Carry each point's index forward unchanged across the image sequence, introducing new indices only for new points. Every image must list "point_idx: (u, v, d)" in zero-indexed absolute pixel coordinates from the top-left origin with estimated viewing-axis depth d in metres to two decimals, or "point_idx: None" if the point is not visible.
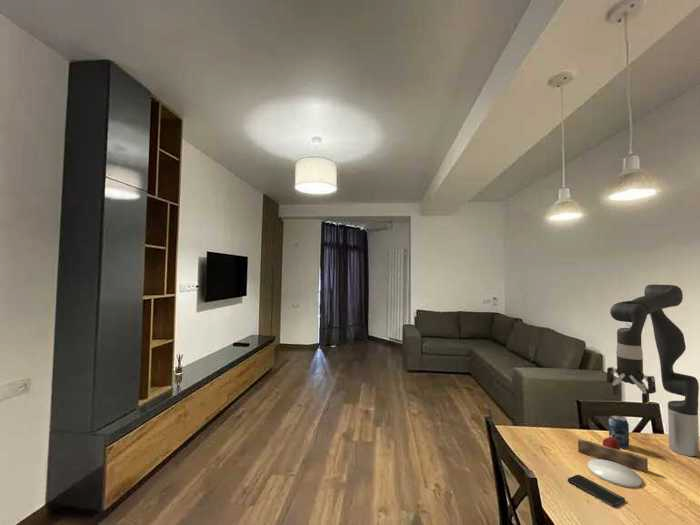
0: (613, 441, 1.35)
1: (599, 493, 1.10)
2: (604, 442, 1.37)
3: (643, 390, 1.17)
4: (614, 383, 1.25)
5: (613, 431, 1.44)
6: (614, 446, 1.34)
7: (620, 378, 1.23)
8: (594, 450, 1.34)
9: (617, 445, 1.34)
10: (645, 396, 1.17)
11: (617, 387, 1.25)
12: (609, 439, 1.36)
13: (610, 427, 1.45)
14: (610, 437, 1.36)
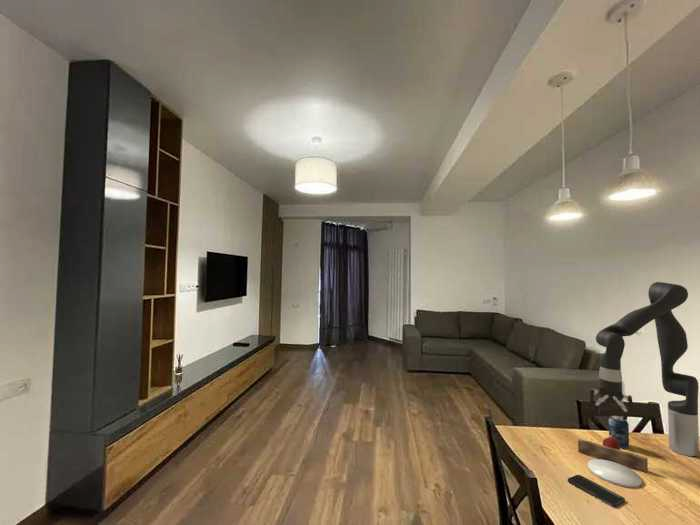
0: (613, 441, 1.35)
1: (598, 493, 1.10)
2: (604, 442, 1.37)
3: None
4: None
5: (612, 431, 1.44)
6: (614, 446, 1.34)
7: None
8: (594, 450, 1.34)
9: (617, 445, 1.34)
10: None
11: None
12: (609, 439, 1.36)
13: (610, 427, 1.45)
14: (610, 437, 1.36)
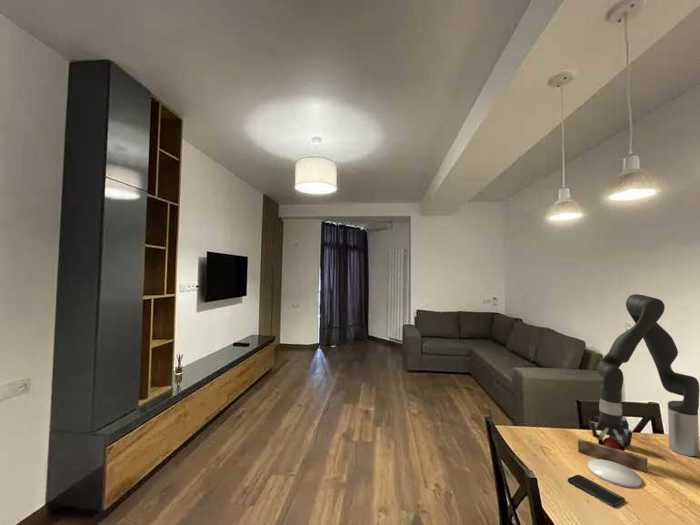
0: (613, 441, 1.35)
1: (598, 493, 1.10)
2: (604, 442, 1.37)
3: None
4: None
5: None
6: (614, 446, 1.34)
7: None
8: (594, 450, 1.34)
9: (617, 445, 1.34)
10: None
11: (620, 445, 1.35)
12: (609, 439, 1.36)
13: None
14: (610, 437, 1.36)
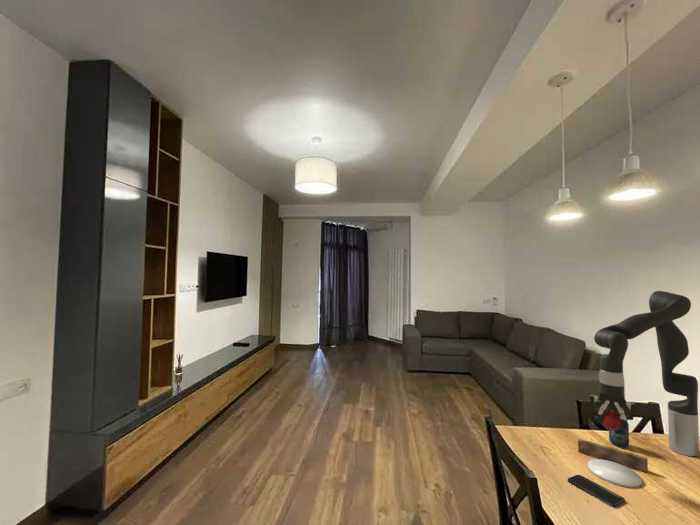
0: (614, 415, 1.22)
1: (598, 493, 1.10)
2: (604, 417, 1.24)
3: None
4: None
5: (612, 431, 1.44)
6: (615, 420, 1.21)
7: None
8: (594, 450, 1.34)
9: (619, 419, 1.21)
10: None
11: (622, 419, 1.22)
12: (610, 413, 1.23)
13: None
14: (611, 411, 1.24)
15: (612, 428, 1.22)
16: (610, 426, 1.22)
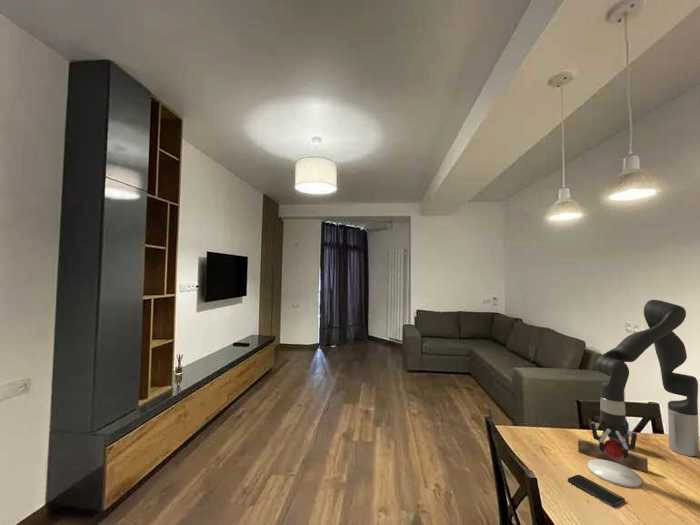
0: (616, 444, 1.21)
1: (598, 493, 1.10)
2: (606, 445, 1.23)
3: None
4: None
5: None
6: (617, 449, 1.20)
7: None
8: (594, 450, 1.34)
9: (620, 448, 1.21)
10: None
11: (623, 448, 1.21)
12: (611, 442, 1.22)
13: None
14: (612, 439, 1.23)
15: (613, 457, 1.21)
16: (611, 455, 1.21)
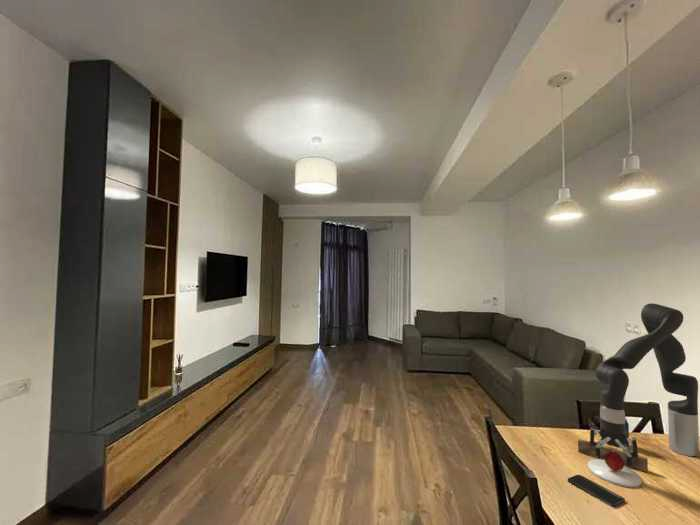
0: (616, 456, 1.21)
1: (598, 493, 1.10)
2: (606, 457, 1.23)
3: None
4: None
5: None
6: (617, 462, 1.20)
7: None
8: (594, 450, 1.34)
9: (621, 461, 1.20)
10: None
11: (626, 456, 1.21)
12: (612, 454, 1.22)
13: None
14: (613, 451, 1.23)
15: (614, 469, 1.21)
16: (612, 467, 1.21)
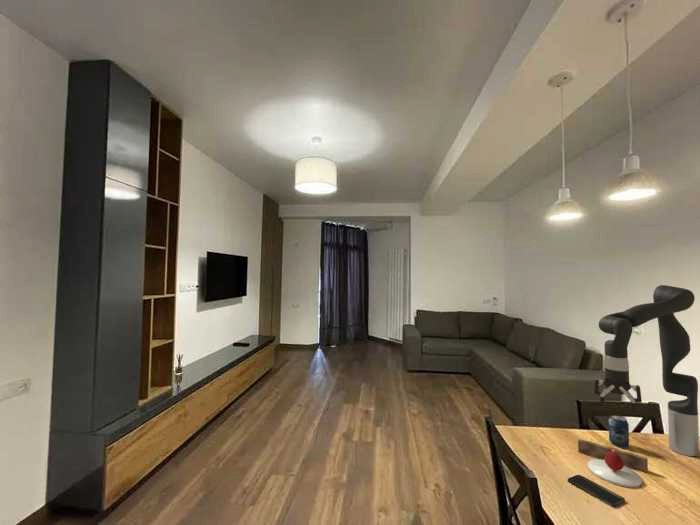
0: (616, 456, 1.21)
1: (598, 493, 1.10)
2: (606, 457, 1.23)
3: None
4: None
5: (612, 431, 1.44)
6: (617, 462, 1.20)
7: None
8: (594, 450, 1.34)
9: (620, 461, 1.20)
10: None
11: None
12: (611, 454, 1.22)
13: (610, 427, 1.45)
14: (613, 451, 1.23)
15: (614, 469, 1.21)
16: (612, 467, 1.21)
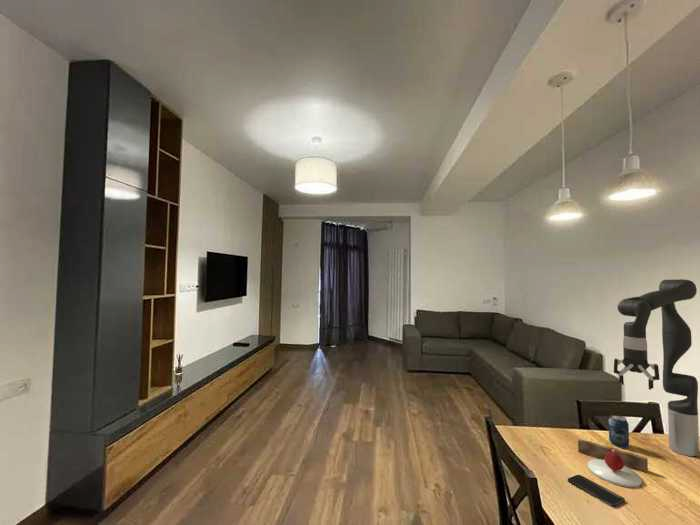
0: (616, 456, 1.21)
1: (598, 493, 1.10)
2: (606, 457, 1.23)
3: None
4: None
5: (612, 431, 1.44)
6: (617, 462, 1.20)
7: None
8: (594, 450, 1.34)
9: (620, 461, 1.20)
10: None
11: (648, 380, 1.31)
12: (611, 454, 1.22)
13: (610, 427, 1.45)
14: (613, 451, 1.23)
15: (614, 469, 1.21)
16: (612, 467, 1.21)
